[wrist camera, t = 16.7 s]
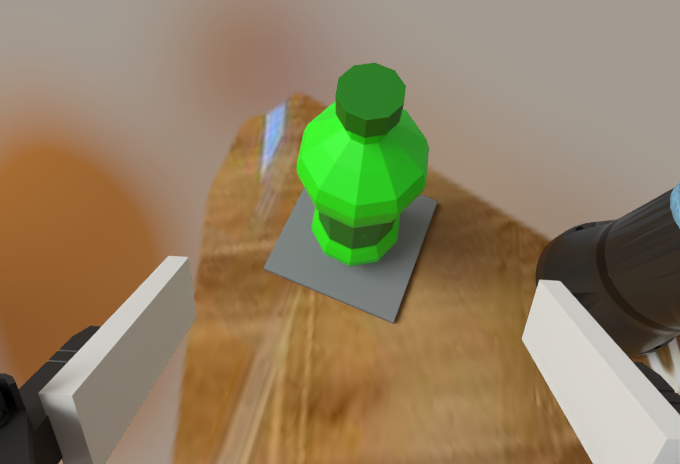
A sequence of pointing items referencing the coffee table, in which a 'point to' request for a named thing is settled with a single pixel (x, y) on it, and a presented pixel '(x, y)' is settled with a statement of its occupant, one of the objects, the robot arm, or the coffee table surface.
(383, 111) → the plastic bottle
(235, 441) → the coffee table surface
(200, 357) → the coffee table surface
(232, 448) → the coffee table surface
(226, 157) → the coffee table surface
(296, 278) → the rubber coaster
